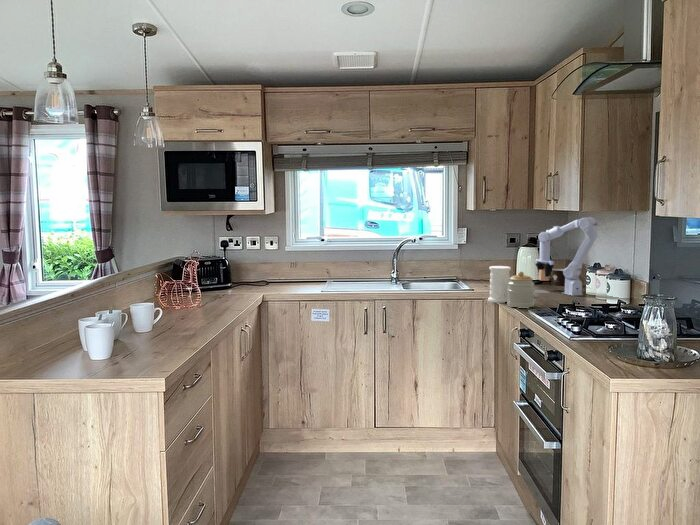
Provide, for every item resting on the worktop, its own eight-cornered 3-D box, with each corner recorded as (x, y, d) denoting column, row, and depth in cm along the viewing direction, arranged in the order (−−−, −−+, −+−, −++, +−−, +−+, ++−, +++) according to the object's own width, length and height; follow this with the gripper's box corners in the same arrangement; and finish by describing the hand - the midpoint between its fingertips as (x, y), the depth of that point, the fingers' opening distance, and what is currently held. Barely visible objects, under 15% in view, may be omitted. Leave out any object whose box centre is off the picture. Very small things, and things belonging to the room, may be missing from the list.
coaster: (551, 293, 308) (551, 292, 308) (534, 294, 307) (534, 293, 307) (542, 290, 318) (542, 289, 318) (526, 291, 317) (526, 290, 316)
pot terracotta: (551, 280, 315) (551, 270, 314) (542, 280, 313) (543, 270, 313) (545, 279, 320) (545, 269, 320) (536, 279, 319) (537, 269, 318)
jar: (507, 308, 267) (508, 273, 265) (505, 303, 280) (506, 269, 278) (535, 309, 265) (536, 273, 263) (532, 304, 277) (533, 270, 275)
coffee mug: (568, 286, 331) (569, 270, 330) (554, 287, 332) (555, 270, 331) (561, 284, 343) (562, 268, 342) (548, 284, 343) (548, 268, 342)
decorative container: (507, 298, 294) (508, 265, 292) (513, 302, 282) (513, 268, 280) (485, 298, 294) (486, 265, 292) (490, 302, 283) (491, 268, 281)
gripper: (558, 253, 309) (557, 277, 311) (543, 251, 323) (542, 274, 325) (547, 253, 307) (547, 277, 309) (532, 251, 321) (532, 274, 323)
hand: (544, 275), depth 317 cm, fingers closed on pot terracotta, 5 cm apart
